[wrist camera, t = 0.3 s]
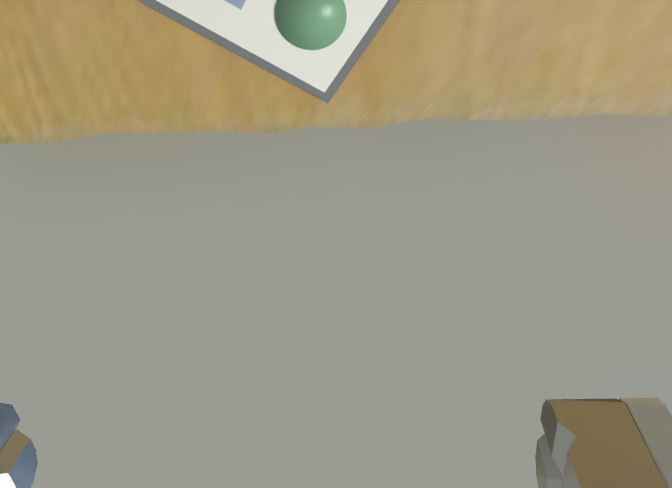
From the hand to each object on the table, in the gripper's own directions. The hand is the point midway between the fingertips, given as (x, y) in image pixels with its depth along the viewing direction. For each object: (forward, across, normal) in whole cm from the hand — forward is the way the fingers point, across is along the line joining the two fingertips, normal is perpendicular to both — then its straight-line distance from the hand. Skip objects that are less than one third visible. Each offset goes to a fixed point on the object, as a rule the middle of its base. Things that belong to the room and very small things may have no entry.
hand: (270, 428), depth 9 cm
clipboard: (+52, +8, -1) cm, 53 cm away
